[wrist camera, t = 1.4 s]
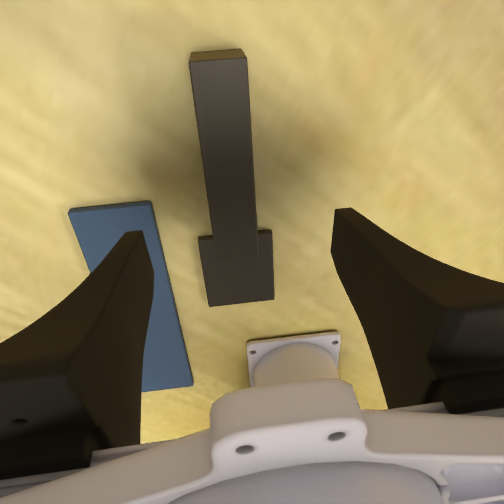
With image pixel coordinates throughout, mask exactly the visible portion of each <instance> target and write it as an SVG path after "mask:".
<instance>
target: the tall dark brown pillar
mask: <svg viewBox="0 0 504 504" xmlns="http://www.w3.org/2000/svg"><path fill="white" fill-rule="evenodd" d="M189 69H190V76H191V83H192V90H193V98H194V105H195V112H196V119H197V126H198V133H199V140H200V147H201V155H202V162H203V169H204V176H205V183H206V190H207V197H208V204H209V212H210V219H211V226H212V233H213V236H203V237H198V245H199V251H200V257H201V263H202V269H203V275H204V280H205V286H206V292H207V298H208V304H209V307H213V306H222V305H231V304H240V303H249V302H258V301H267V300H274V270H273V241H272V231H271V230H261V231H257V215H256V199H255V182H254V166H253V149H252V133H251V116H250V100H249V83H248V66H247V57H246V56H245V54H244V52H243V51H242V49H229V50H217V51H204V52H192V53H191V56H190V60H189Z"/></svg>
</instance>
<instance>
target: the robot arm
mask: <svg viewBox="0 0 504 504" xmlns="http://www.w3.org/2000/svg"><path fill="white" fill-rule="evenodd" d="M331 255H332V258H333V261H334V265H335V268H336V271H337V274H338V276H339V278H340V280H341V282H342V284H343V286H344V289H345V291H346V293H347V295H348V297H349V299H350V301H351V303H352V305H353V307H354V309H355V311H356V313H357V315H358V318H359V320H360V322H361V325H362V327H363V330H364V332H365V335H366V338H367V341H368V344H369V347H370V350H371V353H372V356H373V359H374V362H375V365H376V368H377V371H378V375H379V378H380V382H381V385H382V388H383V392H384V395H385V399H386V402H387V406H388V409H387V410H369V409H360V407H359V404H358V401H357V399H356V396H355V393H354V390H353V387H352V385H351V384H349V383H346V382H344V381H342V380H340V377H339V374H338V372H337V370H338V361H339V352H340V342H341V335H340V333H339V332H337V331H333V332H325V333H316V334H308V335H299V336H291V337H282V338H274V339H265V340H257V341H250V342H248V343H247V344H246V349H247V359H248V369H249V379H250V388H242V389H239V390H235V391H232V392H228V393H226V394H224V395H223V396H222V397H220V398H219V399H218V400H216V401H215V402H214V403H213V404H212V407H211V411H210V428H209V429H206V430H203V431H200V432H197V433H194V434H191V435H188V436H185V437H182V438H179V439H174V440H167V441H160V442H153V443H145V444H140V423H141V391H142V371H143V355H144V348H145V341H146V336H147V330H148V324H149V319H150V313H151V307H152V301H153V295H154V269H153V266H152V262H151V259H150V255H149V252H148V248H147V245H146V241H145V238H144V234H143V231H142V230H137V231H128V232H125V233H124V234H123V235H122V237H121V238H120V239H119V240H118V242H117V243H116V244H115V245H114V247H113V248H112V249H111V250H110V252H109V253H108V254H107V255H106V257H105V258H104V259H103V260H102V261H101V263H100V264H99V265H98V266H97V267H96V268H95V269H94V270H93V272H92V273H91V274H90V275H89V276H88V277H87V278H86V279H85V280H84V281H83V282H82V283H81V284H80V285H79V286H78V287H77V288H76V289H75V290H74V291H73V292H72V293H71V294H70V295H68V296H67V297H66V298H65V299H64V300H63V301H61V302H60V303H59V304H58V305H57V306H55V307H54V308H53V309H51V310H50V311H49V312H47V313H46V314H45V315H43V316H42V317H41V318H39V319H38V320H37V321H35V322H34V323H32V324H31V325H29V326H28V327H26V328H25V329H23V330H22V331H20V332H18V333H17V334H15V335H14V336H12V337H10V338H9V339H7V340H5V341H4V342H2V343H0V504H504V283H501V282H497V281H493V280H490V279H487V278H484V277H480V276H477V275H474V274H471V273H468V272H465V271H462V270H460V269H457V268H455V267H452V266H450V265H447V264H445V263H442V262H440V261H438V260H435V259H433V258H431V257H429V256H427V255H425V254H423V253H421V252H419V251H417V250H415V249H413V248H412V247H410V246H408V245H406V244H405V243H403V242H401V241H400V240H398V239H396V238H395V237H393V236H392V235H390V234H389V233H387V232H386V231H384V230H383V229H381V228H380V227H378V226H377V225H375V224H374V223H373V222H371V221H370V220H368V219H367V218H366V217H364V216H363V215H361V214H360V213H358V212H357V211H356V210H354V209H352V208H351V207H350V208H341V209H335V214H334V224H333V234H332V243H331ZM252 350H254V351H252Z"/></svg>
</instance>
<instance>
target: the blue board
mask: <svg viewBox="0 0 504 504" xmlns="http://www.w3.org/2000/svg"><path fill="white" fill-rule="evenodd" d="M68 216H69V218H70V221H71V223H72V226H73V229H74V231H75V234H76V236H77V239H78V242H79V244H80V247H81V249H82V252H83V255H84V257H85V260H86V262H87V265H88V268H89V270H90V273H92V272H93V270H94V269H95V268H96V267H97V266H98V265H99V264H100V263H101V261H102V260H103V259H104V258H105V257H106V255H107V254H108V253H109V252H110V250H111V249H112V248H113V247H114V245H115V244H116V243H117V242H118V240H119V239H120V238H121V237H122V235H123V234H124V233H125V232H128V231H137V230H142V231H143V234H144V238H145V241H146V245H147V248H148V252H149V255H150V259H151V262H152V266H153V269H154V295H153V301H152V307H151V313H150V319H149V324H148V330H147V336H146V341H145V348H144V355H143V371H142V391H141V392H148V391H156V390H164V389H172V388H181V387H189V386H193V377H192V372H191V368H190V364H189V360H188V356H187V351H186V347H185V343H184V339H183V334H182V330H181V326H180V322H179V317H178V313H177V309H176V305H175V301H174V296H173V292H172V288H171V284H170V279H169V275H168V271H167V267H166V262H165V258H164V254H163V250H162V245H161V241H160V237H159V233H158V229H157V224H156V220H155V216H154V212H153V207H152V203H151V201H144V202H134V203H124V204H114V205H104V206H94V207H83V208H73V209H70V210H69V212H68Z"/></svg>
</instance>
